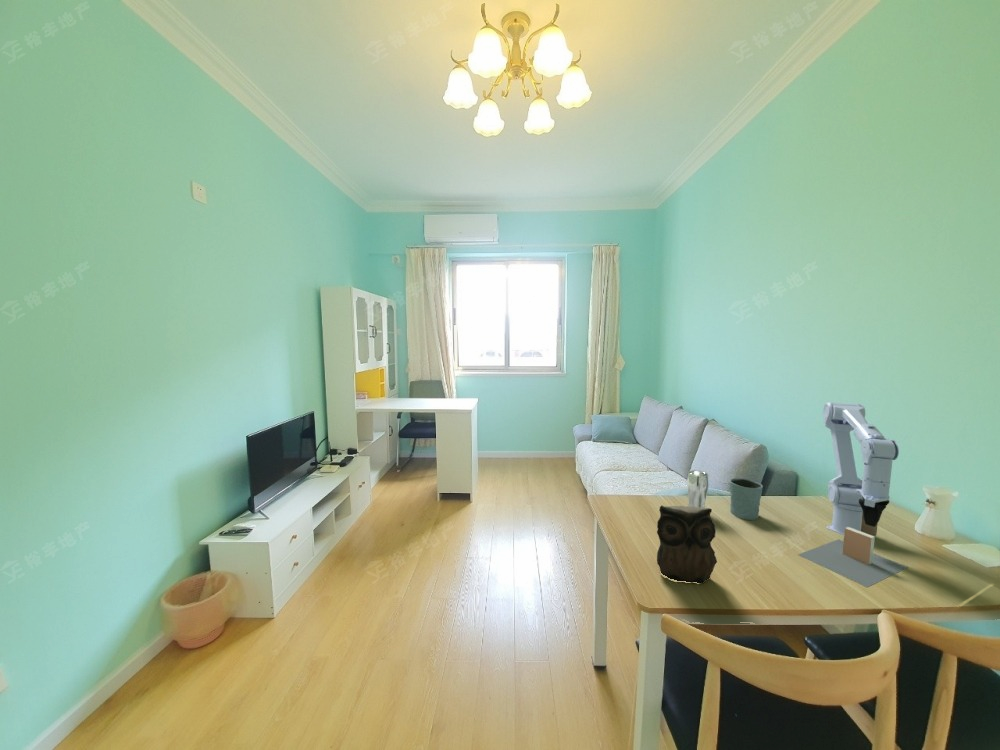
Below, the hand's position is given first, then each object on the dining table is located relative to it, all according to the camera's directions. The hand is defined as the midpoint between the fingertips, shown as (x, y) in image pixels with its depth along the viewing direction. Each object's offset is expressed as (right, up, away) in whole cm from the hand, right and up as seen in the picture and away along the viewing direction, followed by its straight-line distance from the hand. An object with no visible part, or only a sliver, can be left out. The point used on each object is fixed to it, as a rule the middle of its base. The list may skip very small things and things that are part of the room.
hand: (871, 523), depth 111 cm
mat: (-9, -10, -3) cm, 14 cm away
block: (0, -4, +1) cm, 4 cm away
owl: (-60, -11, -8) cm, 61 cm away
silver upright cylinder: (-37, -7, +28) cm, 47 cm away
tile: (-6, -10, -2) cm, 11 cm away
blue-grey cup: (-20, -8, +27) cm, 35 cm away
